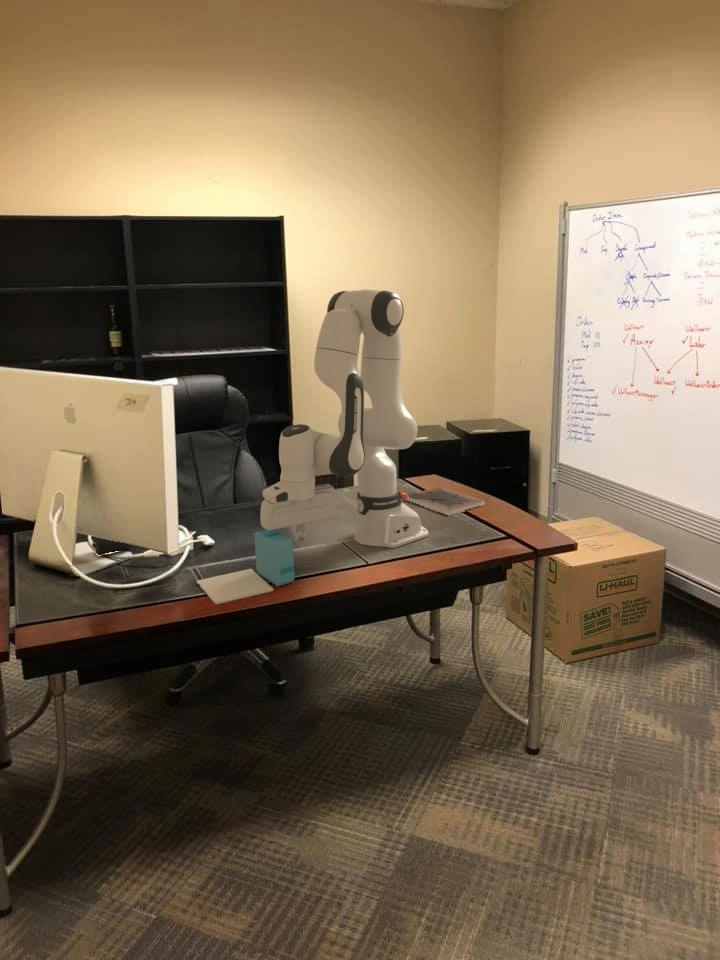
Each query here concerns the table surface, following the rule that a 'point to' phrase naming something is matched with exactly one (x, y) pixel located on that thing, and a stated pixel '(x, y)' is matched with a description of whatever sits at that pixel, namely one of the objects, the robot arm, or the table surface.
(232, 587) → the grey pad
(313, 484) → the robot arm
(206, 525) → the table surface
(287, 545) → the blue box
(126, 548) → the end cap
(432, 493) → the picture frame
